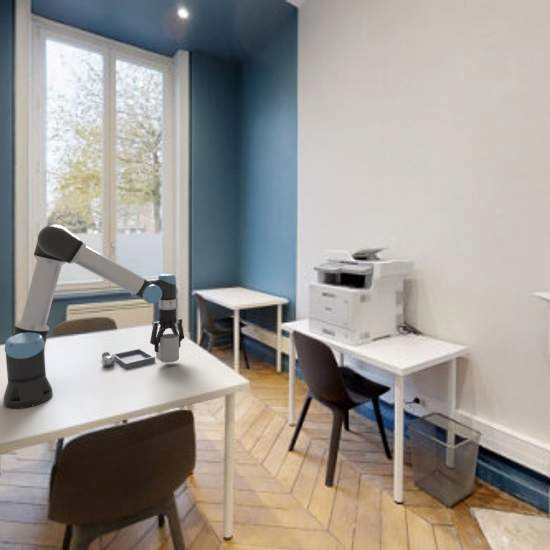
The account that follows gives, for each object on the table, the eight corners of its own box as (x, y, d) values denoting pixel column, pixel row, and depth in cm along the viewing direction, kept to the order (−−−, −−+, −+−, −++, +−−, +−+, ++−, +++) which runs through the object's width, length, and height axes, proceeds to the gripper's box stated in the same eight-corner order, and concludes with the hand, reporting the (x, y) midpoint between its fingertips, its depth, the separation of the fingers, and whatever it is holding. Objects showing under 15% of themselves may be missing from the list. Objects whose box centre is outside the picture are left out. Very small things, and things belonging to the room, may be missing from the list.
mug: (180, 361, 176) (180, 337, 175) (160, 363, 173) (160, 339, 172) (177, 353, 187) (176, 331, 186) (158, 354, 184) (158, 332, 183)
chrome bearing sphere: (104, 368, 173) (104, 359, 173) (101, 365, 177) (100, 357, 177) (116, 365, 177) (115, 357, 176) (112, 363, 180) (111, 354, 180)
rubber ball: (103, 361, 182) (103, 353, 182) (100, 359, 185) (100, 351, 184) (111, 359, 185) (111, 352, 184) (108, 357, 187) (108, 350, 187)
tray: (125, 369, 173) (125, 363, 173) (112, 359, 185) (112, 354, 185) (155, 361, 182) (154, 357, 182) (140, 353, 194) (139, 348, 194)
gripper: (148, 312, 167) (149, 363, 170) (192, 306, 182) (192, 354, 184) (141, 309, 173) (142, 359, 176) (184, 304, 187) (184, 350, 190)
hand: (167, 356), depth 180 cm, fingers closed on mug, 8 cm apart
